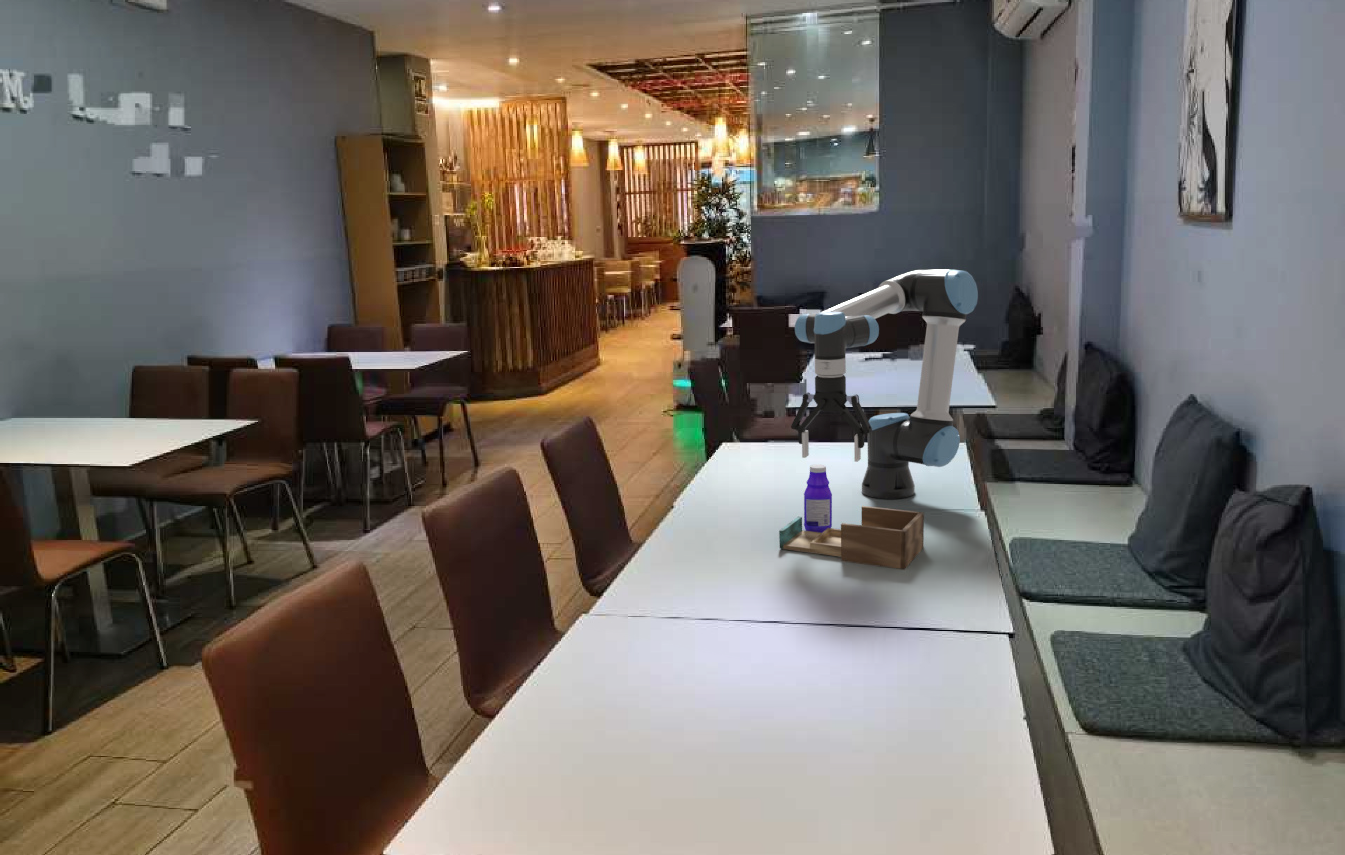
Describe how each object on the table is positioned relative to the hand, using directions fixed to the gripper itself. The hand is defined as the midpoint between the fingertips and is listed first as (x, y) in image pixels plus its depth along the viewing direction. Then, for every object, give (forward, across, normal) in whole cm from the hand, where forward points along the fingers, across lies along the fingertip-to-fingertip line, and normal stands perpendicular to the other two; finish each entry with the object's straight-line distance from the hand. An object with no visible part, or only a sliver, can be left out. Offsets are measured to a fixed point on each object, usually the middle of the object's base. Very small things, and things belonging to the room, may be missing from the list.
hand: (831, 458), depth 243 cm
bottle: (+20, -4, +2) cm, 21 cm away
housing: (+20, +16, -10) cm, 27 cm away
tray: (+20, +2, -9) cm, 22 cm away
